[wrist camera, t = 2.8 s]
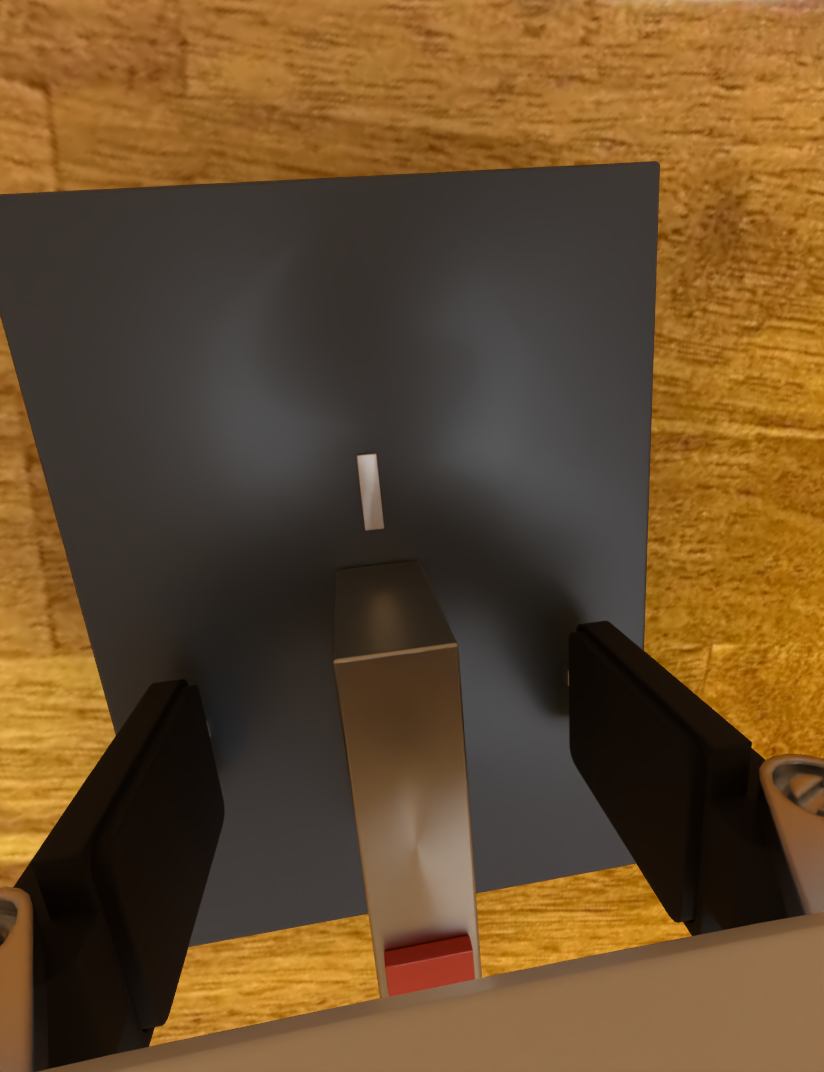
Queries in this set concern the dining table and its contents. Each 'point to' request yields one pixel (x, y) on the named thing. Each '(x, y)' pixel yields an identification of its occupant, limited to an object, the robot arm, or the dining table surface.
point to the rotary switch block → (347, 476)
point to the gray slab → (407, 775)
